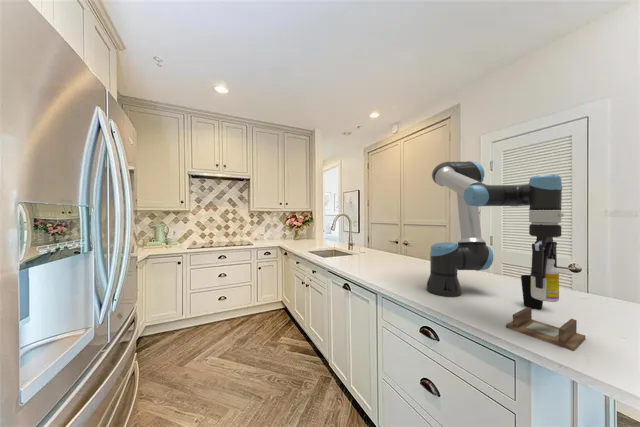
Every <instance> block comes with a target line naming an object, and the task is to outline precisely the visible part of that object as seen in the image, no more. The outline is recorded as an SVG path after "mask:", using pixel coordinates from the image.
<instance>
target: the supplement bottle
mask: <svg viewBox="0 0 640 427" xmlns="http://www.w3.org/2000/svg"><path fill="white" fill-rule="evenodd" d="M554 263H555V260H554V259H550V258H547V265H546V273H545V278H546V300H544V299H540V298H536V297H534V277H533V276H531V296H532V297H533V298H535V299H538V300H541V301H543V302H546V303H547V302H549V303H556V302H557V303H558V302H559V301H560V271H559V270H560V269H558V268H555V267H554ZM531 271H532V266H531V267H530V272H531ZM538 273H539V272H538Z"/></svg>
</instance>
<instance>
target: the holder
mask: <svg viewBox="0 0 640 427" xmlns="http://www.w3.org/2000/svg"><path fill="white" fill-rule="evenodd" d="M532 310H533V309H532V308H530V307H526V306H525V308H522V309H521V310H519V311H517V312H515V313H513V314H512V320H511V321H509V322H508V323H506V324H505V328H507V329H508V330H513V331H515V332H518V333H521V334H525V335H527V336H530V337H533V338H536V339H537V340H542V341H544V342H547V343H551V344H553V345H555V344H556V346H558V345H559V347H561V346H562V348H564V347H565V349H567V348H568V349H567V350H570V351H574V352H575V350H576V349H577V348H578V347H579V346H580V345H581V344H582V343H583V342H584V341H585V340H586V335H585V334H583V333H582V334H581V333H578V332H577V319H575V318H569V320H568V321H566V322H565V323H563V325H561V326H559V327H558V326H556V325H555V326H554V325H551V324H548V323H545V322H543V321H538V320H536V319H532V317H533V316H532V314H533V312H532Z"/></svg>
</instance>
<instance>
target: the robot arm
mask: <svg viewBox="0 0 640 427" xmlns="http://www.w3.org/2000/svg"><path fill="white" fill-rule="evenodd" d="M431 178H432V180H433V182H434V183H435V184H436V185H438V186H441V187H446V188H448V189H449V190H452V191H453V192H455V193H456V198H457V199H456V200H457V210H458V211H457V212H458V220H459V231H460V239H459V240H458V241H457V242H452V241H451V242H436V243H434V244H432V245H431V247H430V251H429V252H430V253H429V256H430V262H429V263H430V274H429V277H428V279H427V283H426V286H425V287H426V288H425V289H426V291H427V292H429V293H430V294H433V295H437V296H442V297H452V298H453V297H459V296H461V295H462V287H461V284H460V281H459V278H458V271H477V272H478V271H486V270H488V269H489V268H491V266H492V264H493V262H494V256H495V255H494V252H493V250H492V248H491V247H490V246H488V245H487V243H486V242H487V241H485V240H484V239H483V238H482V231H481V221H480V211H479V207H512V208H513V207H527V206H529V208H528V213H529V214H528V223H531V224H529V226H528V232H529V233H528V234H529V236H532V237H536V240H535V242H534V243H532V244H531V250H532V252H531V253H532V254H531V267H532V271H531V270H530V274H529V275H531V276H533V277H534V297H536V298H540V299H544V300H546V278H545V273H546V265H547V258H550V259H554V260H555V263H554V267H555V268H557V267H558V265H557V264H558V263H557V262H558V261H557V248H558V247H557V245H558V243H557V241H554V238H560V237H562V226H561V223H562V217H564V216H565V214H564V213H562V202H563V201H562V198H563V197H562V194H563V185H562V177H561V175H559V174H541V175H533V176H531V177H530V178H529V181H528V183H526V184H509V185H508V184H506V185H505V184H501V185H499V184H496V185H495V184H494V185H493V184H492V185H490V184H489V185H488V184H486V183H483V181H484V178H485V170H484V167H483V165H482V164H481V163H480V162H477V161H469V160H467V161H445V162H441V163H439V164H438V165H437V164H436V166H435V167H434V169H433V170H432V173H431ZM557 269H558V268H557ZM538 272H539V273H538Z"/></svg>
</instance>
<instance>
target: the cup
mask: <svg viewBox="0 0 640 427" xmlns="http://www.w3.org/2000/svg"><path fill="white" fill-rule="evenodd" d="M520 280H521V290H522V291H521V292H522V299H523V301H522V302H523V306H524V307H525V308H526V307H530V308H532V310H543V303H544V301H541V300H538V299H535V298H533V297H532V296H531V275H530V274H523V275H522V274H521V275H520Z"/></svg>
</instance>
